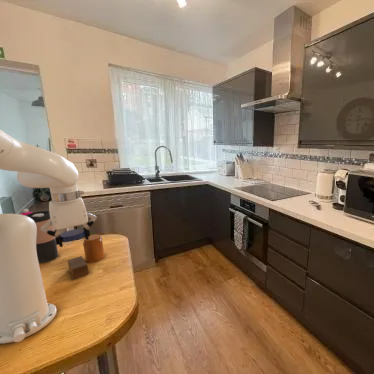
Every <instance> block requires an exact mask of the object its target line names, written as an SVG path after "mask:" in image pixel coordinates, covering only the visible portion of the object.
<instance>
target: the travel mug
mask: <svg viewBox="0 0 374 374" xmlns="http://www.w3.org/2000/svg"><path fill="white" fill-rule="evenodd" d="M25 216H27V217H30V218H31V219H32V220H33V221H34V222H35V224H36V227H37V236H36V251H37V257H38V262H39V264H45V263H48V262H51V261H54V260H56V259H57V258H58V257H59V252H58V245H57V244H56V240H55V237H54V236H51V235H49V234H47V233H45V232H43V231H41V229H40V228H41V227H42V226H43V225H44V224H46V223H47V222H48V221H49V220H50V213H49V210H40V211H39V210H38V211H33V213H30V214H27V215H25ZM48 229H49V230H52V231H54V230H55V229H54V228H53V227H52V225H50V226H49V227H48Z"/></svg>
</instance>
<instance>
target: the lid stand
mask: <svg viewBox="0 0 374 374" xmlns="http://www.w3.org/2000/svg"><path fill="white" fill-rule="evenodd" d="M67 265H68V270H69V272H70V274H71V276H72V278H73V280H76V279H79V278H82V277H85V276H87V275H89V273H90V272H89V267H88V264H87V261H86V260H85V259H84V258H83V256H82V255H80V256H77V257H73V258H70V259H68V260H67Z"/></svg>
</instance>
